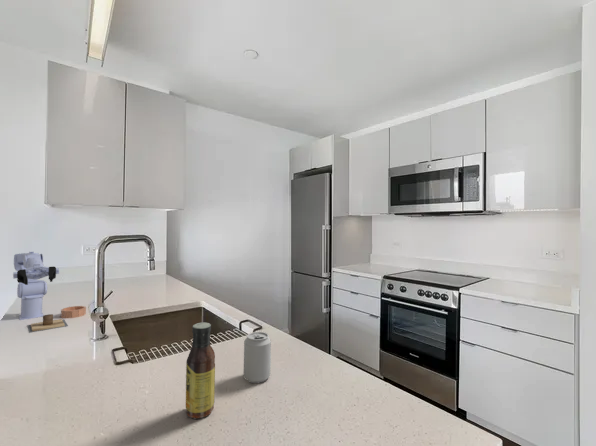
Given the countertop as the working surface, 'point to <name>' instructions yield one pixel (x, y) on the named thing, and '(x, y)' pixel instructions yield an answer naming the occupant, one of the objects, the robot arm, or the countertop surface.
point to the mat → (45, 329)
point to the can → (257, 357)
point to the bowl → (73, 312)
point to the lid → (47, 323)
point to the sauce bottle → (200, 373)
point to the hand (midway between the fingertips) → (39, 280)
